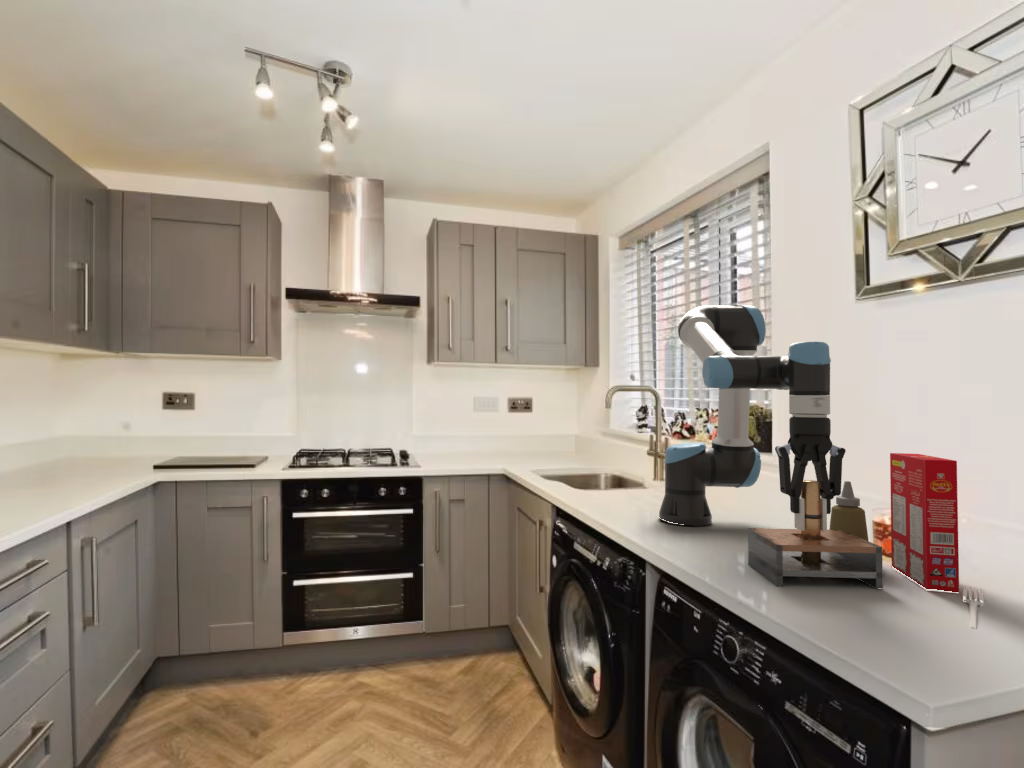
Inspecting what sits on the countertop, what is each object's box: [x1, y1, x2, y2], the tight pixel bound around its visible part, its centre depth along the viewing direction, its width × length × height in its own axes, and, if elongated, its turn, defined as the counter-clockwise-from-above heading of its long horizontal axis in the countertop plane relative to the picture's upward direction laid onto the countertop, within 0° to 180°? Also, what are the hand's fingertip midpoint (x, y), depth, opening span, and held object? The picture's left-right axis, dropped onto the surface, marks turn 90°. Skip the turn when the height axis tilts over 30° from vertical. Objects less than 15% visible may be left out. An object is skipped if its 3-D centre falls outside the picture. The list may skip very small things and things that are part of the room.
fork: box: [962, 585, 985, 630], centre depth 93 cm, size 3×20×2 cm, turn 139°
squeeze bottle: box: [828, 480, 870, 542], centre depth 122 cm, size 8×8×18 cm
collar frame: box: [747, 527, 884, 589], centre depth 111 cm, size 14×20×8 cm
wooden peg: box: [800, 479, 821, 565], centre depth 111 cm, size 4×4×18 cm
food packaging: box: [889, 452, 960, 593], centre depth 109 cm, size 15×5×25 cm, turn 167°
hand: (810, 529), depth 111 cm, fingers closed on wooden peg, 4 cm apart
